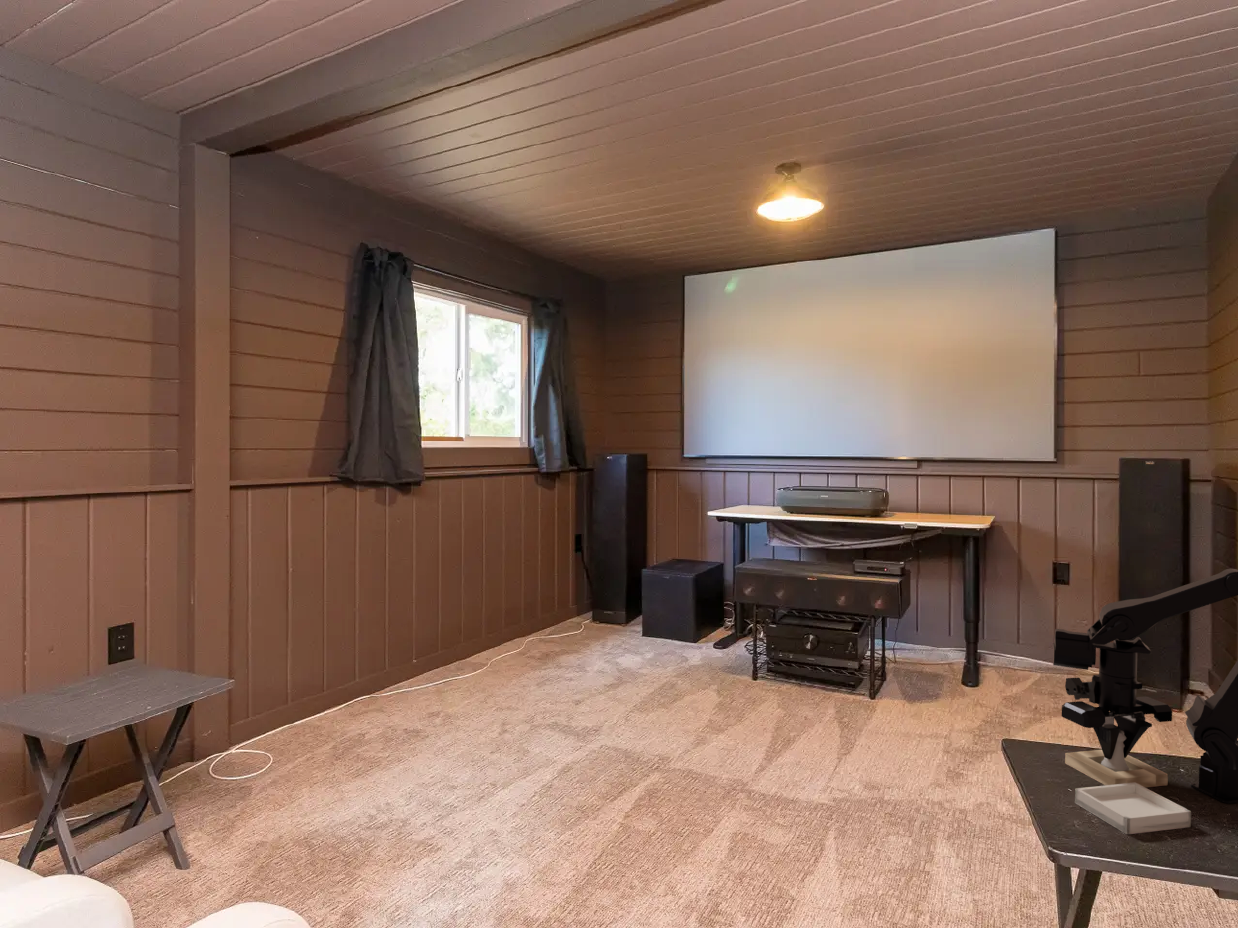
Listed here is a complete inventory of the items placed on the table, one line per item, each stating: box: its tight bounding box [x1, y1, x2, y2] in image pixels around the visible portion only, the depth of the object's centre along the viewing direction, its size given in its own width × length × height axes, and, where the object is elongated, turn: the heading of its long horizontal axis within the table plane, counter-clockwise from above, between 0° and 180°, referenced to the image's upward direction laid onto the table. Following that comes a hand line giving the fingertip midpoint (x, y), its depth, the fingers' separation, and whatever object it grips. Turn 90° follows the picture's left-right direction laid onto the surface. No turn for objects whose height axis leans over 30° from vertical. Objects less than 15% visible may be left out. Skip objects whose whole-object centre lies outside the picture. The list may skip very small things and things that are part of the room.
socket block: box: [1064, 749, 1169, 788], centre depth 135 cm, size 11×11×2 cm
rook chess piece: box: [1101, 730, 1129, 772], centre depth 135 cm, size 4×4×8 cm
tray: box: [1074, 782, 1192, 835], centre depth 120 cm, size 12×10×2 cm
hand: (1115, 757), depth 135 cm, fingers closed on rook chess piece, 3 cm apart
